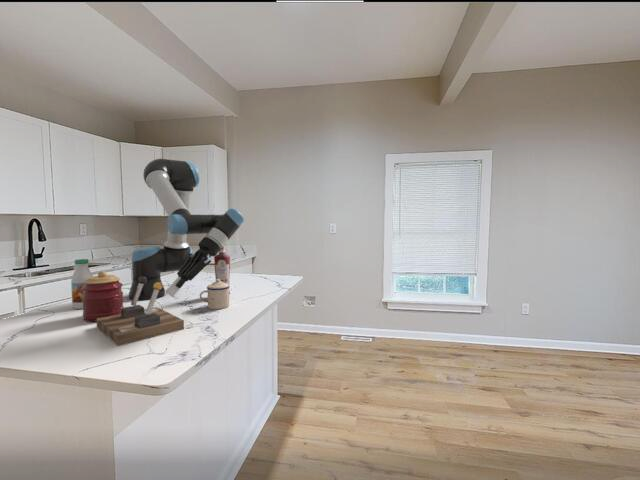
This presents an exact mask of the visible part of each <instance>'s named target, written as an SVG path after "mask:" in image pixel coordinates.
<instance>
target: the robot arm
mask: <svg viewBox="0 0 640 480" xmlns="http://www.w3.org/2000/svg"><path fill="white" fill-rule="evenodd" d="M142 175H143V180H144V183H145V184H146V185H147V187H148V188H149V189H151V190H152V191H153V192H154V194H155V196H156V198H157V199H158V201H159V202H160V205H161V206H162V207H163V210H164V211H165V213H166V214H167V220H166V226H167V240H166V241H165V242H164V243H163V247H162V248H161V247H160V246H159V245H152V246H151V245H149V246H144V247H143V246H142V247H138V248H136V249H134V250H133V251H132V252H131V265H132V266H131V269H132V270H131V272H132V283H131V286H130V289H129V292H128V298H129V300H133V298H134V295H135V292H136V290H137V287H138V284H139V282H138V279H139V278H140V277H142V276H144V277H146V278H147V282H146V283H145V284H144V285H143V287H142V290H141V292H140V295H139V298H138V300H137V301H145V300H150V299H151V297H152V294H153V291H154V288H153V285H154V284H155V283H156V282H160V283H162V285H163V282H162V280H161V278H162V277H161V274H162V273H167V272H168V273H169V272H170V273H171V272H177V273H176V274H177V278H176V279H175V280H174V281H173V282H172V283H171V284H170V286H169V287H168V288H167V289H165V287H164V285H163V287H162V289H161V290H159V292H158V295H157V298H156V299H158V298H159V299H160V298H162V297H165V295H166V293H167V294H168V295H169V296H170V297H174V296H175V295H177V293H178V292H179V291H180V290H181V288H182V287H183V286H184V284H185V283H186V282H189V281H192V280H193V279H195V277H197V275H198V274H199V273H201V272H202V271H203V269H204V268H206V266H208V265H209V264H210V263H212V260H211V259H210V258H211V257H213V258H214V257H215V256H216V255H218V254H219V251H220V248H222V247H223V246H224V245H225V246H226V244H227V242H229V240H230V239H231V238H232V236H233V235H234V234H235V233H236V232H237V231H238V229H239V228H240V227H241V225H242V224H243V223H244V221H245V218H244V216H243V214H242V213H241V212H240V211H238V210H237V209H235V208H232V207H231V208H229V209H227V211H225V213H223V214H212V213H211V214H191V212H190V211H189V210H190V195H191V194H192V193H193V192H194V188H197V187H198V185H199V183H200V172H199V169H198V166H196V164H195V163H193V162H190V161H186V160H176V159H166V158H156V159H153V160H151V161H150V162H148V164H146V166H145V168H144V170H143V174H142ZM198 234H199V235H200V234H201V235H202V234H205V236H204V237H203V238H202V239H201V240H200V242H199V243H198V247H199V249H198V250H196V251H195V252H194V253H193V249H192V247H191V246H190V243H188V242H187V237H188V236H187V235H198Z"/></svg>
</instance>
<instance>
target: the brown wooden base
mask: <svg viewBox="0 0 640 480" xmlns="http://www.w3.org/2000/svg"><path fill="white" fill-rule="evenodd" d="M146 310H147V308H145V307H144V306H142V305H140V304H136V306H133V305H130V306H125V307H124V306H123V308H121V314H118V315H113V316H108V317H103V318H98V319H96V320H97V322H96V328H97V329H98V330H99V331H101V332H102V333H103V334H104V335H105V336H106V337H107V338H108V339H110V341H112V342H113V343H114V344H116V345H117V346H118V347H119V346H122V345H126V344H130V343H134V342H137V341H138V342H139V341H142V340H145V339H149V338H154V337H157V336H161V335H165V334H169V333H172V332H173V333H174V332H177V331H181V330H184V329H185V321H184V319H182V318H180V317H178V316H176V315H174V314H172V313H170V312H168V311H166V310H164V309H162V308H159V307H158V306H156V307H154V306H153V309H152V311H151V314H147V313H146Z"/></svg>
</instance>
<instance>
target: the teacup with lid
mask: <svg viewBox="0 0 640 480" xmlns="http://www.w3.org/2000/svg"><path fill="white" fill-rule="evenodd" d="M206 289H207V290H203V291H201V292H200V293H199V299H200V301H201V302H203V303H207V308H208V309H210V310H223V309H227V308H229V306H230V294H229V292H230V284H229V285H228V284H226V283H224V282H221V280H220V279H217V280H216V279H215V281H213V282H212V283H211V284H208V285H207V287H206ZM204 293H207V300H204V299H203V297H202V295H203V294H204Z"/></svg>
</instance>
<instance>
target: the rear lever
mask: <svg viewBox="0 0 640 480" xmlns="http://www.w3.org/2000/svg"><path fill="white" fill-rule="evenodd" d="M138 282H139V284H138V287H137V290H136V292H135V295H134V298H133V300H132V299H131V300H132V301H131V304H130V306H136V305H137V303H138V301H139V300H138V298H139V295H140V292H141V290H142V287H143V285H144V284H145V283H146V282H147V278H146V277H144V276H142V277H140V278H139V279H138Z"/></svg>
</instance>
